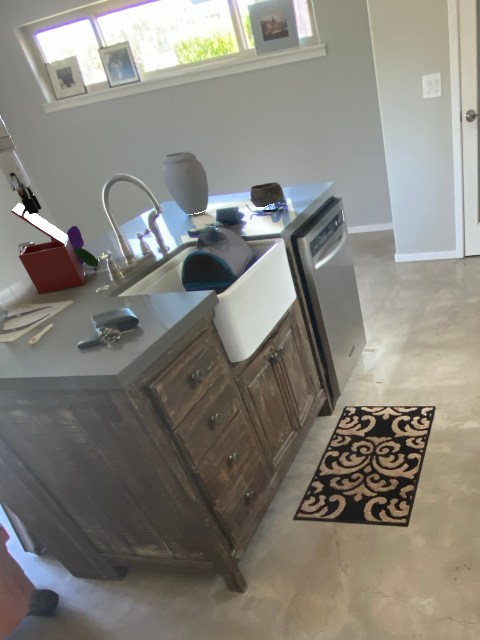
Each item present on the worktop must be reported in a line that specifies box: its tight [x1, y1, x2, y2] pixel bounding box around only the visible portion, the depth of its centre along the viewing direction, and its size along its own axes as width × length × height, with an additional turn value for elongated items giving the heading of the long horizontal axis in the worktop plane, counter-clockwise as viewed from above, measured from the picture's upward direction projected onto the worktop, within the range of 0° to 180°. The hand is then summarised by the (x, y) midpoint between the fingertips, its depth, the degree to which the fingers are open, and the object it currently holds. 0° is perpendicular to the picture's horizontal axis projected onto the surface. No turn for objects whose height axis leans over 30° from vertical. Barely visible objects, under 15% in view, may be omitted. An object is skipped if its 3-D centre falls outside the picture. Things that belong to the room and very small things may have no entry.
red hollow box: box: [18, 238, 86, 295], centre depth 180 cm, size 15×14×12 cm
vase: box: [161, 151, 209, 217], centre depth 241 cm, size 20×20×24 cm
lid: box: [10, 202, 68, 246], centre depth 171 cm, size 15×14×5 cm
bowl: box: [249, 181, 285, 208], centre depth 234 cm, size 14×15×10 cm
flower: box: [50, 225, 99, 269], centre depth 193 cm, size 15×15×14 cm
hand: (35, 211), depth 169 cm, fingers closed on lid, 6 cm apart
